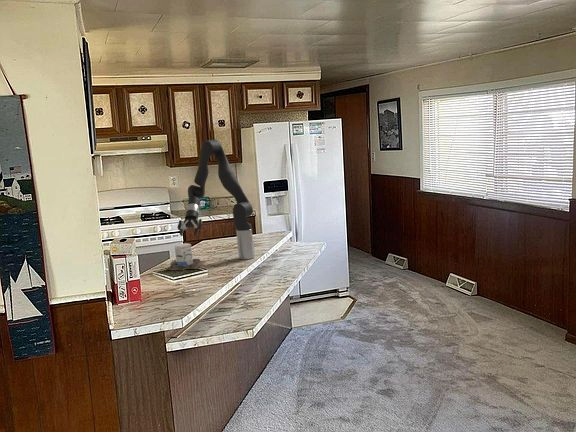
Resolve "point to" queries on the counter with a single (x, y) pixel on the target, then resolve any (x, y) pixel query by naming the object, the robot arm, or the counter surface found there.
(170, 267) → the dock
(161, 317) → the counter surface
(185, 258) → the ink box
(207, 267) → the counter surface
